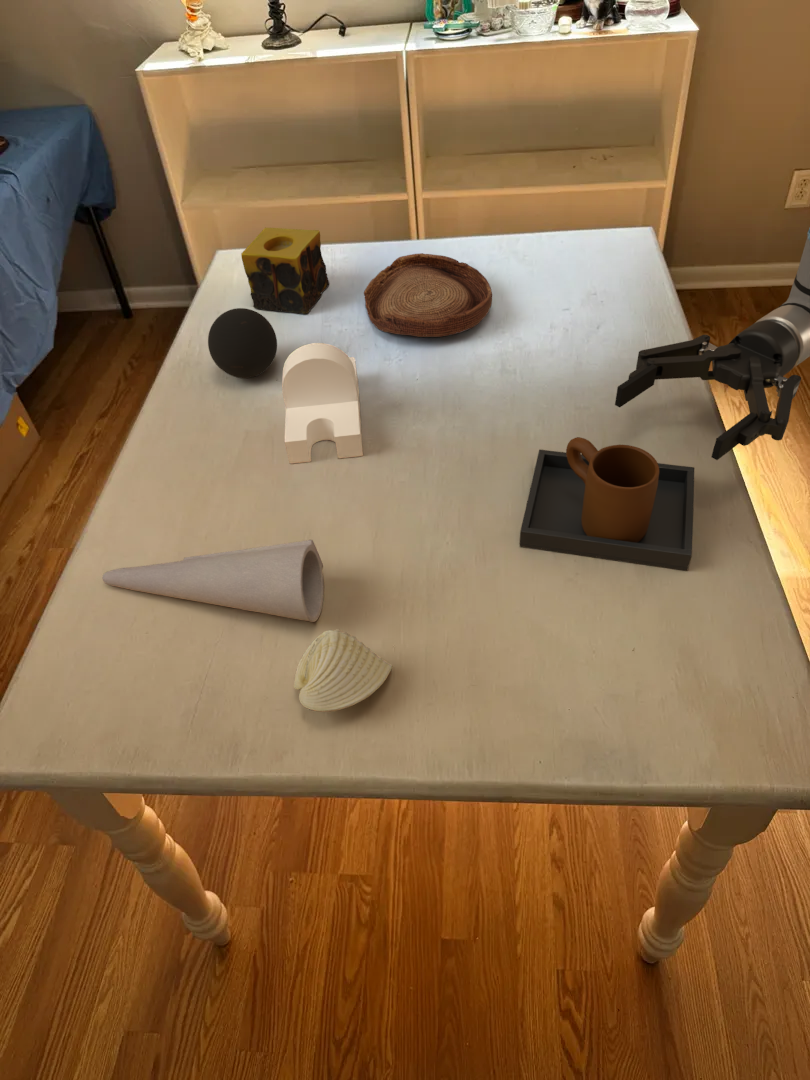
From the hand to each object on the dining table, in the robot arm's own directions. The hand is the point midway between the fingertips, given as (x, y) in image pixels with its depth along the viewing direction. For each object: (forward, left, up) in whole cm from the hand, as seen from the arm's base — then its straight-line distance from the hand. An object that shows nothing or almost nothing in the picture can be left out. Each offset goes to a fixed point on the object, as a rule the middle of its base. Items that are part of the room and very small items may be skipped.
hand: (665, 422), depth 90 cm
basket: (+48, +17, -9) cm, 52 cm away
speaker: (+40, +47, -9) cm, 62 cm away
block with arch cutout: (+25, +37, -9) cm, 46 cm away
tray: (-4, +7, -9) cm, 12 cm away
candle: (+60, +37, -9) cm, 72 cm away
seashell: (-20, +42, -9) cm, 48 cm away
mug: (-4, +9, -9) cm, 13 cm away
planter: (-4, +55, -9) cm, 56 cm away
